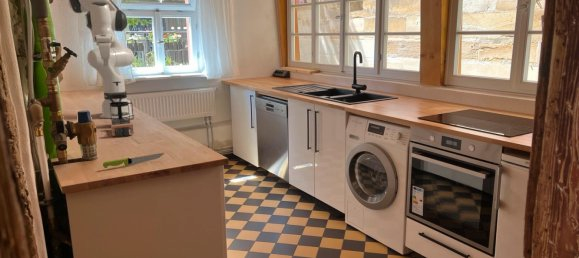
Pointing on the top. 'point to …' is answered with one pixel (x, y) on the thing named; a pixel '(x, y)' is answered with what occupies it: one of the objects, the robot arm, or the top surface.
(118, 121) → the tongs base
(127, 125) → the lock clip
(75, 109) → the top surface
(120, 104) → the french press
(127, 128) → the tongs arm
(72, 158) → the top surface
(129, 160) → the kitchen knife
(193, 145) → the top surface
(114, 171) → the top surface
